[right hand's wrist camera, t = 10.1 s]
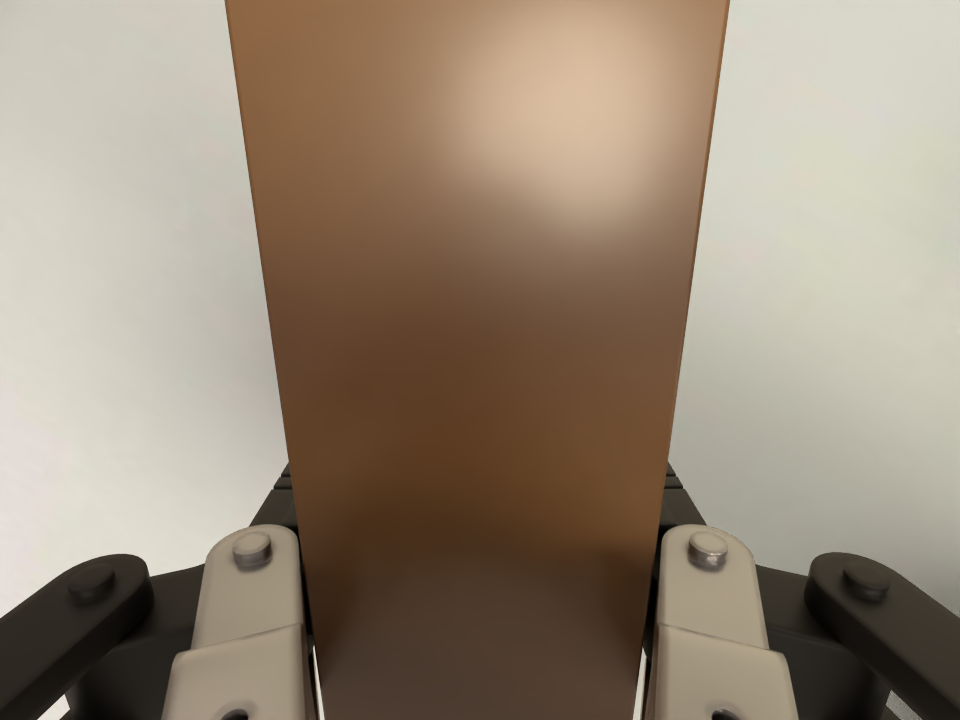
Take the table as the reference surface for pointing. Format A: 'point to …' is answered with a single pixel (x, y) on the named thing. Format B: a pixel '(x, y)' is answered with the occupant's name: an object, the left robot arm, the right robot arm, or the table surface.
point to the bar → (477, 330)
